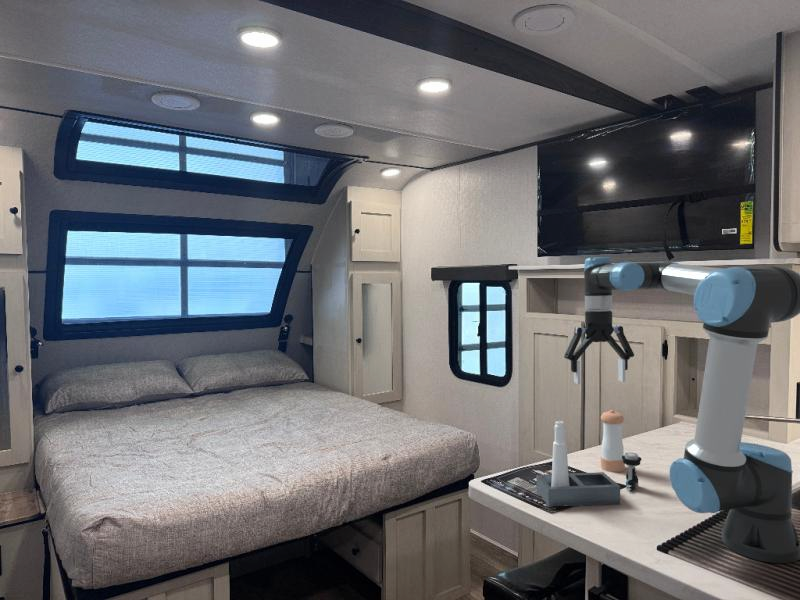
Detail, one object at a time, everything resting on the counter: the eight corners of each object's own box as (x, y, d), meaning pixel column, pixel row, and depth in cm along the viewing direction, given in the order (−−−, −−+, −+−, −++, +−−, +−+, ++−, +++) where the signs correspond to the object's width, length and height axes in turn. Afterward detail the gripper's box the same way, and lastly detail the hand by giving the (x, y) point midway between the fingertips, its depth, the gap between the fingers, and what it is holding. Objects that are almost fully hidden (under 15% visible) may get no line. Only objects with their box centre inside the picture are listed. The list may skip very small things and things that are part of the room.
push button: (637, 494, 155) (637, 459, 155) (618, 490, 159) (617, 456, 158) (643, 486, 161) (643, 453, 160) (625, 483, 164) (624, 450, 164)
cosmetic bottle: (568, 494, 157) (567, 418, 156) (574, 502, 151) (573, 424, 150) (547, 494, 157) (545, 419, 156) (552, 503, 151) (551, 425, 150)
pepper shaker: (621, 473, 172) (620, 413, 171) (597, 469, 176) (597, 410, 175) (627, 467, 177) (627, 409, 177) (604, 462, 182) (604, 406, 181)
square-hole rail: (603, 488, 160) (603, 472, 160) (620, 504, 149) (620, 486, 149) (536, 491, 159) (536, 474, 159) (548, 507, 148) (548, 489, 148)
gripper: (632, 308, 164) (633, 378, 164) (552, 310, 161) (553, 381, 162) (646, 309, 156) (647, 382, 157) (562, 312, 154) (563, 386, 155)
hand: (599, 382), depth 159 cm, fingers open, 13 cm apart
